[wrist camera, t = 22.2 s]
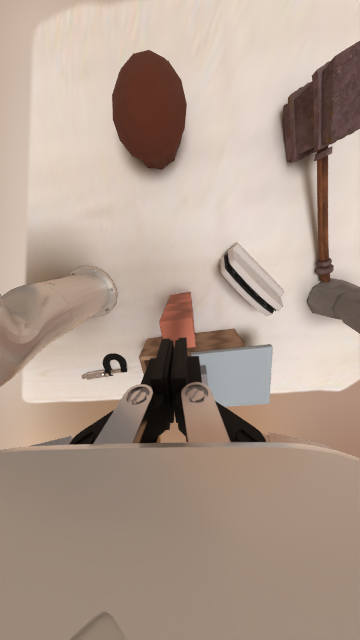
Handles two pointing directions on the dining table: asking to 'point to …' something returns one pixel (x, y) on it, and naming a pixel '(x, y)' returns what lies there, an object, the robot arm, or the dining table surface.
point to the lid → (237, 374)
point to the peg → (178, 319)
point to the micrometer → (107, 367)
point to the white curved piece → (251, 280)
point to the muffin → (149, 109)
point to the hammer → (324, 128)
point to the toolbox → (202, 341)
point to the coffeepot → (337, 301)
